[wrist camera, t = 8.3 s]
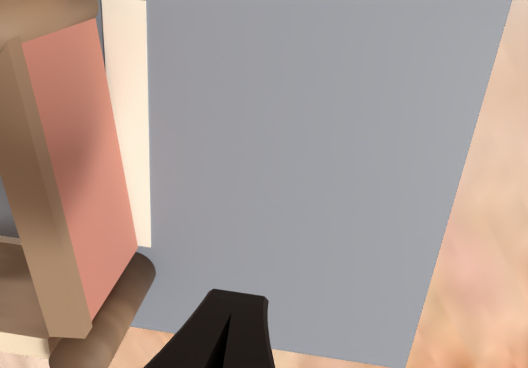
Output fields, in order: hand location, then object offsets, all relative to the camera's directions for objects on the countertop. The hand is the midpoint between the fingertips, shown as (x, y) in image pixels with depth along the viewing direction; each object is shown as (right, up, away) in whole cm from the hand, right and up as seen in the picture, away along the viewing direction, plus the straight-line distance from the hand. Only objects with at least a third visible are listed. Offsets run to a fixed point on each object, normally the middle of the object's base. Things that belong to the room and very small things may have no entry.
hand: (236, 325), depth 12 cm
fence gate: (-6, +5, +8) cm, 11 cm away
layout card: (-4, +4, +9) cm, 11 cm away
